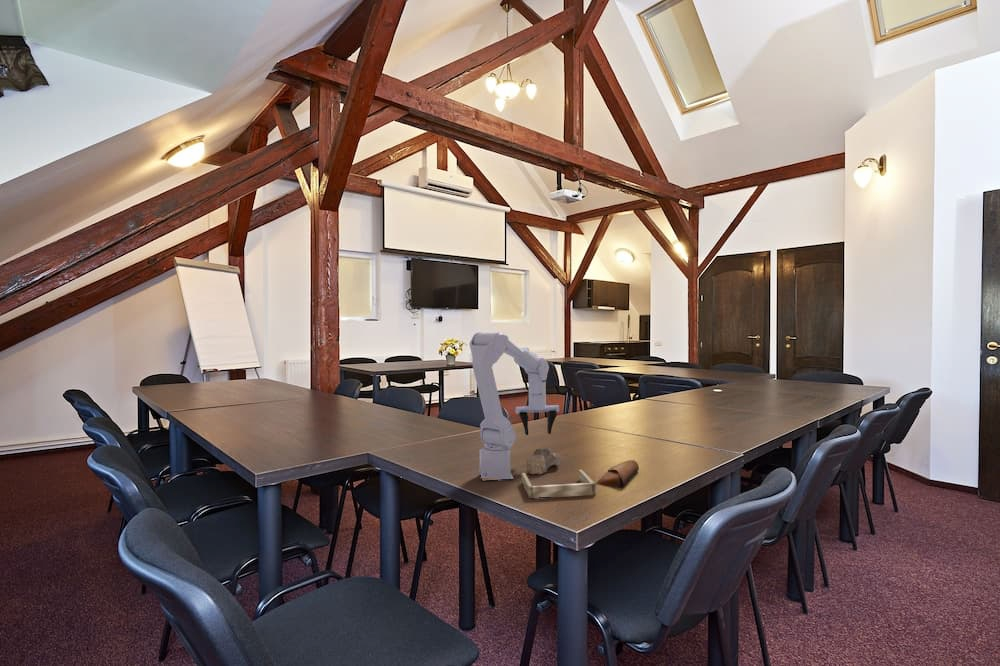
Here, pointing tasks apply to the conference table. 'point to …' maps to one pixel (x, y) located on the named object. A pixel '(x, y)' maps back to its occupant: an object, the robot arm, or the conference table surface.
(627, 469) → the sunglasses case
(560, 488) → the box
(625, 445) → the conference table surface
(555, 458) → the rock
